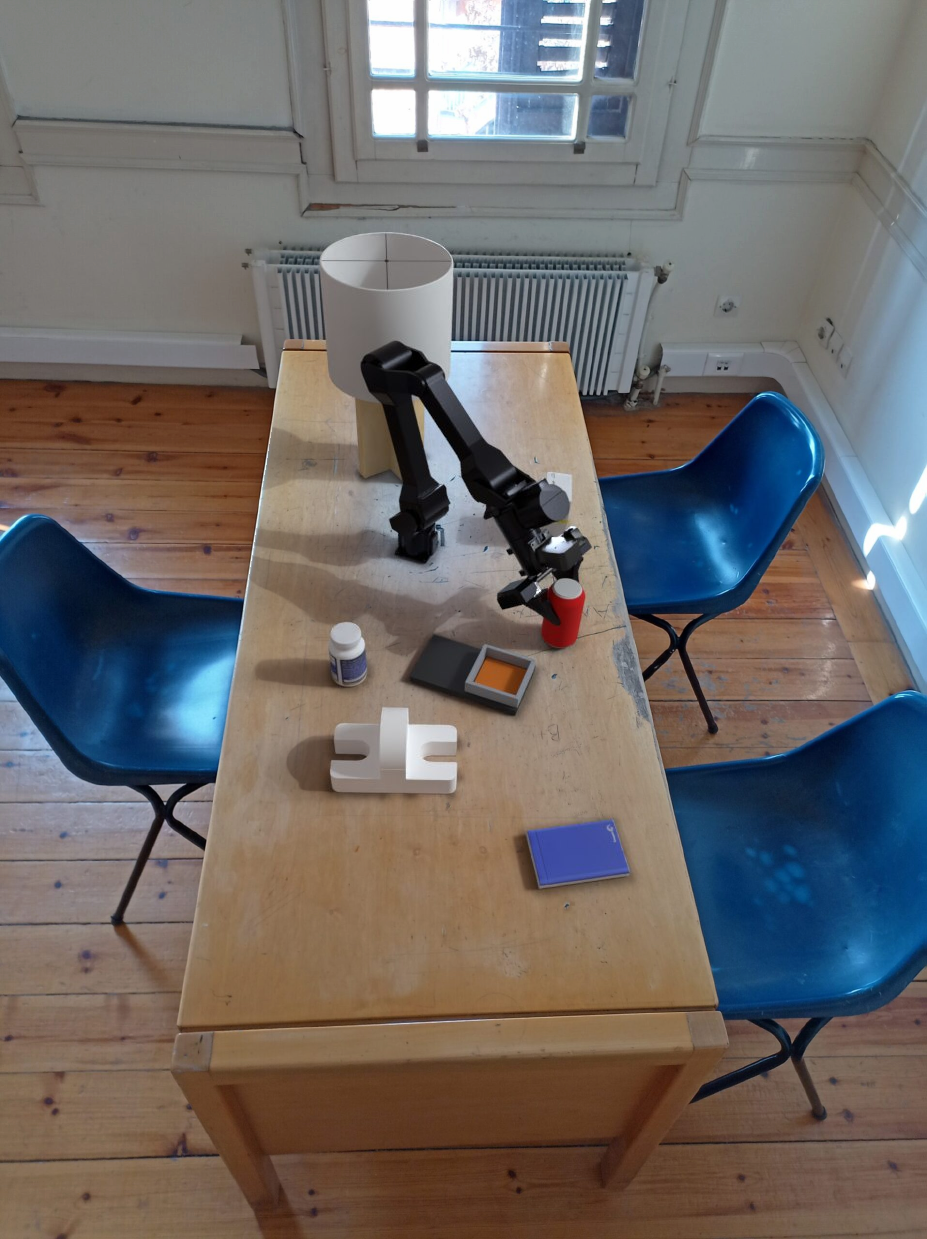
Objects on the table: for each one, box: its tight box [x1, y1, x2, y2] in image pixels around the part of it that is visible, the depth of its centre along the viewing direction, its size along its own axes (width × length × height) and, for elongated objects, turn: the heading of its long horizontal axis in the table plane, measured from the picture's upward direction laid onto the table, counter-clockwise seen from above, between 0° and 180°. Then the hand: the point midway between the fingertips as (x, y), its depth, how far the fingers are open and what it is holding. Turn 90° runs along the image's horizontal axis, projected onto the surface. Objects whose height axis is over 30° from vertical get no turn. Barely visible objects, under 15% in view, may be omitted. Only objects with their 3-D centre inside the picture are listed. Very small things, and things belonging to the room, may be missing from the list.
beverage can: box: [540, 578, 586, 649], centre depth 141 cm, size 6×6×12 cm
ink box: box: [540, 471, 573, 537], centre depth 160 cm, size 9×5×12 cm, turn 175°
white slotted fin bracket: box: [329, 706, 458, 795], centre depth 123 cm, size 10×18×11 cm, turn 90°
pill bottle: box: [328, 621, 368, 688], centre depth 135 cm, size 6×6×10 cm
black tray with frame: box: [409, 633, 536, 716], centre depth 138 cm, size 18×10×3 cm, turn 69°
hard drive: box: [525, 818, 631, 890], centre depth 117 cm, size 2×8×12 cm
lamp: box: [318, 231, 454, 481], centre depth 162 cm, size 23×23×43 cm
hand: (569, 615), depth 140 cm, fingers closed on beverage can, 6 cm apart
